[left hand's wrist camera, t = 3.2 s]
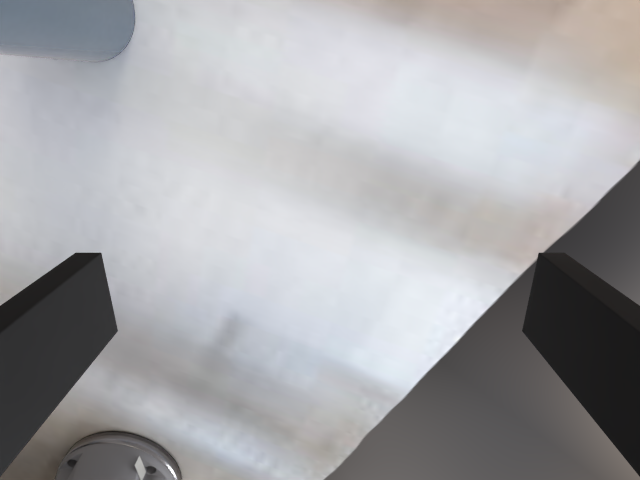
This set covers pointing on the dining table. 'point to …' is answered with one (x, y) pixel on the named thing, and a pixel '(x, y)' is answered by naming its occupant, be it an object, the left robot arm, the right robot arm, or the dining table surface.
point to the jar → (66, 28)
